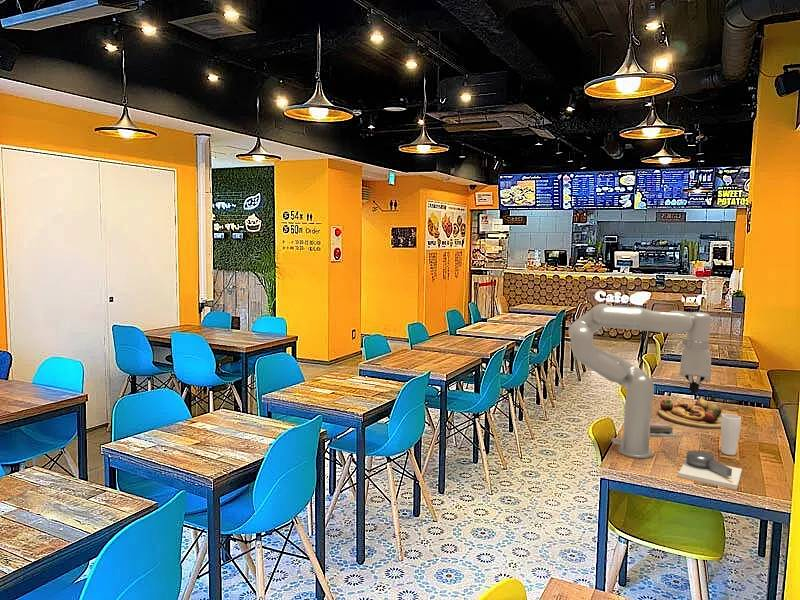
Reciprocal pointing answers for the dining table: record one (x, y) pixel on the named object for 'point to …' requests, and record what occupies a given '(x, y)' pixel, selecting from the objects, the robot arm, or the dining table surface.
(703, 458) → the dial
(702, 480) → the dial base
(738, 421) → the drinking glass
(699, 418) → the wooden plate with food
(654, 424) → the packaged product
